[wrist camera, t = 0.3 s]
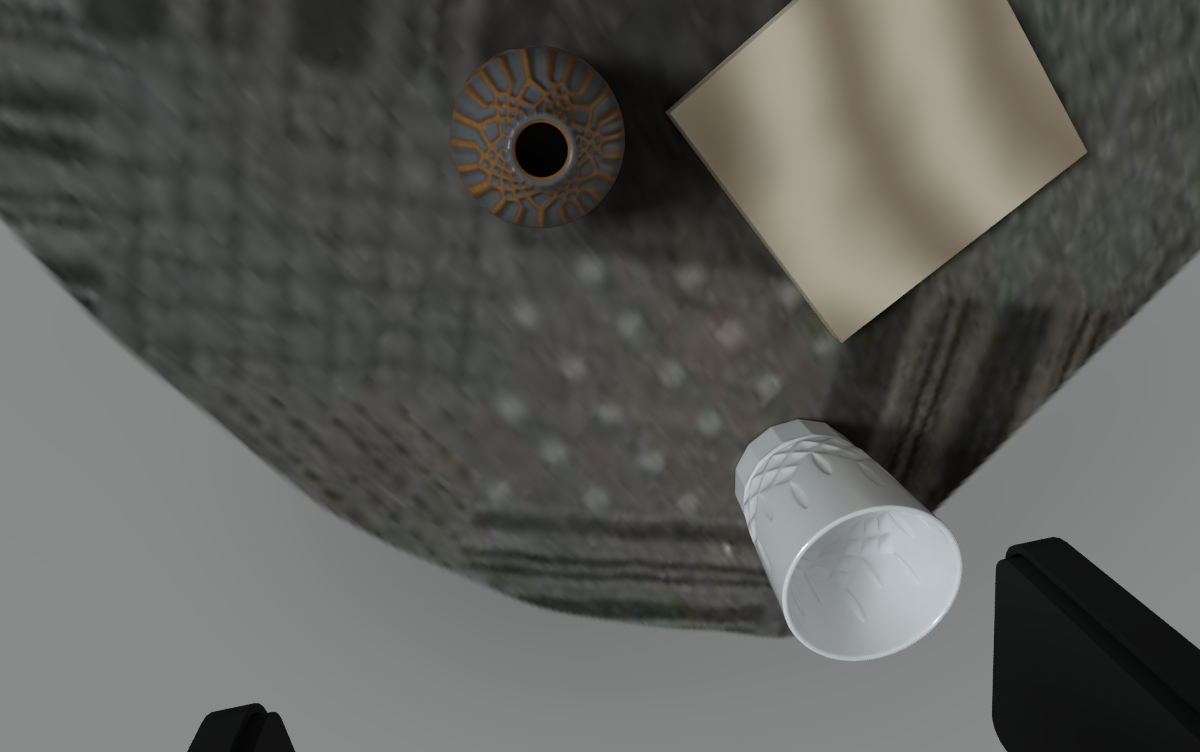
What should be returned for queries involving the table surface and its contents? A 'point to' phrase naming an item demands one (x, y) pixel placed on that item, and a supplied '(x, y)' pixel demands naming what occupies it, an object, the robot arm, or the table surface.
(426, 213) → the table surface
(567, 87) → the vase
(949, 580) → the white cup
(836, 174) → the birch pad
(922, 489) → the table surface
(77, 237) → the table surface
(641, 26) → the table surface
